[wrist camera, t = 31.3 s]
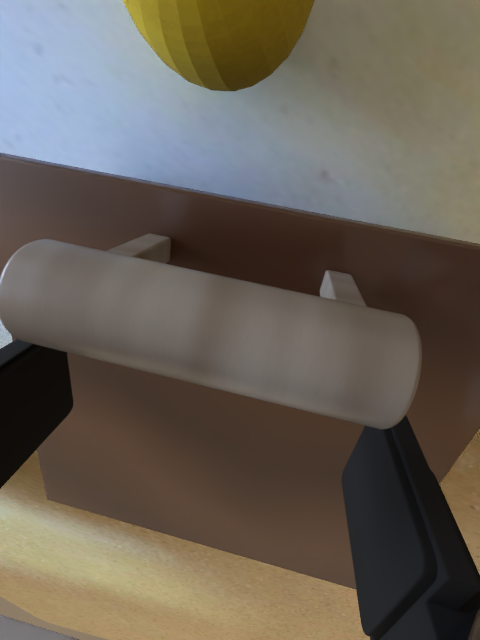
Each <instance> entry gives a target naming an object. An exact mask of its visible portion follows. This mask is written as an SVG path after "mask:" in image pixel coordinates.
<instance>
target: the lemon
mask: <svg viewBox="0 0 480 640" xmlns="http://www.w3.org/2000/svg"><path fill="white" fill-rule="evenodd" d="M123 2H124V4H125V6H126V8H127V10H128V12H129V14H130V16H131V17H132V19H133V21H134V23H135V25H136V27H137V29H138V30H139V32H140V34H141V35H142V36H143V38H144V39H145V40H146V41H147V43H148V44H149V45H150V46H151V48H152V49H153V50H154V51H155V53H156V54H157V55H158V56H159V57H160V59H161V60H162V61H163V62H164V63H165V64H166V65H167V66H168V67H170V68H171V69H172V70H174V71H175V72H177V73H178V74H179V75H181V76H182V77H183V78H185V79H186V80H187V81H189V82H191V83H194V84H196V85H199V86H202V87H205V88H207V89H210V90H218V91H236V90H240V89H244V88H247V87H251V86H253V85H255V84H257V83H258V82H260V81H261V80H263V79H265V78H266V77H268V76H269V75H271V74H272V73H273V72H274V71H275V70H276V69H277V68H278V67H279V66H280V65H281V64H282V62H283V61H284V60H285V59H286V58H287V57H288V56H289V54H290V52H291V51H292V49H293V47H294V46H295V44H296V42H297V41H298V39H299V38H300V36H301V34H302V32H303V30H304V27H305V24H306V22H307V19H308V16H309V14H310V11H311V8H312V5H313V3H314V0H123Z"/></svg>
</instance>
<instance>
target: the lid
mask: <svg viewBox="0 0 480 640" xmlns="http://www.w3.org/2000/svg"><path fill="white" fill-rule="evenodd" d="M0 319H1V321H2V324H3V325H4V327H5V328H6V329H7V330H8V331H9V333H10V334H11V335H12V340H13V341H15V340H16V339H19V340H21V341H23V342H27V343H31V344H35V345H40V346H44V347H48V348H52V349H56V350H60V351H64V352H67V357H68V364H69V372H70V379H71V387H72V394H73V408H72V410H71V412H70V413H69V415H68V416H67V417H66V418H65V419H64V420H63V421H62V422H61V423H60V424H59V425H58V427H57V428H56V429H55V430H54V431H53V432H52V433H51V434H50V435H49V436H48V437H47V438H46V440H45V441H44V442H43V443H42V444H41V445H40V446H39V447H38V448H37V449H36V450H37V454H38V459H39V464H40V468H41V473H42V477H43V482H44V487H45V491H46V496H47V499H48V500H51V501H54V502H58V503H61V504H65V505H68V506H71V507H75V508H78V509H82V510H85V511H89V512H92V513H95V514H99V515H102V516H106V517H109V518H113V519H116V520H119V521H123V522H126V523H130V524H133V525H137V526H140V527H143V528H147V529H150V530H154V531H157V532H161V533H164V534H167V535H171V536H174V537H178V538H181V539H185V540H188V541H191V542H195V543H198V544H202V545H205V546H209V547H212V548H216V549H219V550H222V551H226V552H229V553H233V554H236V555H240V556H243V557H246V558H250V559H253V560H257V561H260V562H264V563H267V564H270V565H274V566H277V567H281V568H284V569H288V570H291V571H294V572H298V573H301V574H305V575H308V576H312V577H315V578H318V579H322V580H325V581H329V582H332V583H336V584H339V585H342V586H346V587H349V588H353V589H356V582H355V575H354V568H353V561H352V553H351V546H350V539H349V532H348V525H347V518H346V511H345V504H344V496H343V489H342V473H343V470H344V468H345V466H346V464H347V461H348V459H349V457H350V455H351V453H352V451H353V449H354V447H355V445H356V443H357V441H358V439H359V437H360V435H361V433H362V431H363V429H364V427H365V426H369V427H373V428H377V429H388V428H391V427H394V426H395V425H397V424H398V423H399V422H400V421H401V420H402V419H403V417H404V416H405V415H406V416H407V418H408V420H409V422H410V425H411V427H412V429H413V431H414V434H415V436H416V438H417V440H418V443H419V445H420V447H421V450H422V452H423V454H424V456H425V459H426V461H427V463H428V465H429V468H430V470H431V471H432V472H433V473H434V475H435V477H436V478H437V481H438V483H439V484H440V482H441V481H442V480H443V478H444V477H445V475H446V474H447V473H448V471H449V470H450V468H451V467H452V466H453V464H454V463H455V462H456V460H457V459H458V457H459V456H460V455H461V453H462V452H463V451H464V449H465V448H466V446H467V445H468V444H469V442H470V441H471V440H472V438H473V437H474V435H475V434H476V433H477V431H478V430H479V428H480V244H477V243H472V242H467V241H461V240H456V239H451V238H446V237H440V236H435V235H430V234H425V233H419V232H414V231H409V230H404V229H398V228H393V227H388V226H382V225H377V224H372V223H367V222H361V221H356V220H351V219H346V218H340V217H335V216H330V215H325V214H319V213H314V212H309V211H304V210H298V209H293V208H288V207H283V206H277V205H272V204H267V203H262V202H256V201H251V200H246V199H241V198H235V197H230V196H225V195H220V194H214V193H209V192H204V191H198V190H193V189H188V188H183V187H177V186H172V185H167V184H162V183H156V182H151V181H146V180H141V179H135V178H130V177H125V176H120V175H114V174H109V173H104V172H99V171H93V170H88V169H83V168H78V167H72V166H67V165H62V164H57V163H51V162H46V161H41V160H36V159H30V158H25V157H20V156H15V155H9V154H4V153H0ZM356 590H357V589H356Z"/></svg>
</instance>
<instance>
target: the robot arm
mask: <svg viewBox="0 0 480 640" xmlns="http://www.w3.org/2000/svg"><path fill="white" fill-rule="evenodd" d="M72 408H73V394H72V387H71V379H70V372H69V364H68V357H67V352H64V351H60V350H56V349H52V348H48V347H44V346H40V345H35V344H31V343H27V342H23V341H21V340H19V339H16V340H15V341H13V342H11V343H10V344H8V345H6V346H5V347H3V348H1V349H0V488H1V487H2V486H3V485H4V484H5V483H6V482H7V481H8V480H9V479H10V477H11V476H12V475H13V474H14V473H15V472H16V471H17V470H18V469H19V468H20V467H21V466H22V464H23V463H24V462H25V461H26V460H27V459H28V458H29V457H30V456H31V455H32V454H33V453H34V451H35V450H36V449H37V448H38V447H39V446H40V445H41V444H42V443H43V442H44V441H45V440H46V438H47V437H48V436H49V435H50V434H51V433H52V432H53V431H54V430H55V429H56V428H57V427H58V425H59V424H60V423H61V422H62V421H63V420H64V419H65V418H66V417H67V416H68V415H69V413H70V412H71V410H72ZM342 489H343V496H344V504H345V511H346V518H347V525H348V532H349V539H350V546H351V553H352V561H353V568H354V575H355V582H356V589H357V596H358V603H359V610H360V617H361V624H362V628H363V631H364V633H365V634H366V635H367V636H370V640H480V575H479V572H478V570H477V568H476V566H475V563H474V561H473V559H472V557H471V554H470V552H469V550H468V548H467V546H466V543H465V541H464V539H463V537H462V534H461V532H460V530H459V528H458V525H457V523H456V521H455V519H454V516H453V514H452V512H451V510H450V508H449V505H448V503H447V501H446V499H445V496H444V494H443V492H442V490H441V487H440V485H439V483H438V481H437V478H436V477H435V475H434V473H433V472H432V471H431V470H430V468H429V465H428V463H427V461H426V459H425V456H424V454H423V452H422V450H421V447H420V445H419V443H418V440H417V438H416V436H415V434H414V431H413V429H412V427H411V425H410V422H409V420H408V418H407V416H406V415H405V416H404V417H403V419H402V420H401V421H400V422H399V423H398V424H397V425H395V426H394V427H391V428H388V429H377V428H373V427H369V426H365V427H364V429H363V431H362V433H361V435H360V437H359V439H358V441H357V443H356V445H355V447H354V449H353V451H352V453H351V455H350V457H349V459H348V461H347V464H346V466H345V468H344V470H343V473H342ZM0 640H79V639H76V638H73V637H70V636H66V635H63V634H60V633H57V632H54V631H50V630H47V629H44V628H41V627H38V626H34V625H31V624H28V623H25V622H22V621H18V620H15V619H12V618H8V617H6V616H3V615H0Z"/></svg>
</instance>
